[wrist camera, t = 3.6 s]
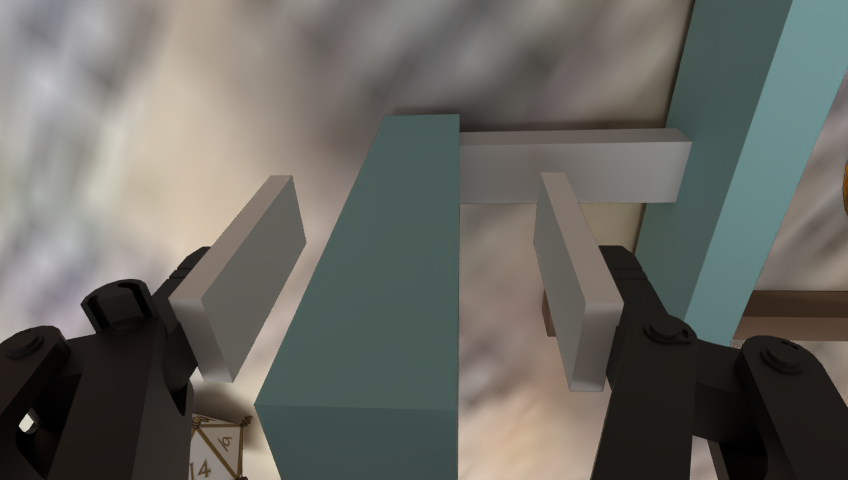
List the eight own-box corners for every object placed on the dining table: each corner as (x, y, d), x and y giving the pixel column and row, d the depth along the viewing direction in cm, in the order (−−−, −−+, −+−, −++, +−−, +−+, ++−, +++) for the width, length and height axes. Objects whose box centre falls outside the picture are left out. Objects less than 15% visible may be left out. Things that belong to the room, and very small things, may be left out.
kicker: (669, 280, 23) (918, 679, 11) (402, 278, 24) (339, 638, 12) (767, -47, 16) (2011, -26, 3) (376, -29, 17) (121, 44, 4)
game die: (227, 360, 35) (175, 398, 25) (293, 448, 35) (268, 518, 25) (123, 437, 34) (27, 507, 24) (194, 526, 34) (127, 632, 24)
